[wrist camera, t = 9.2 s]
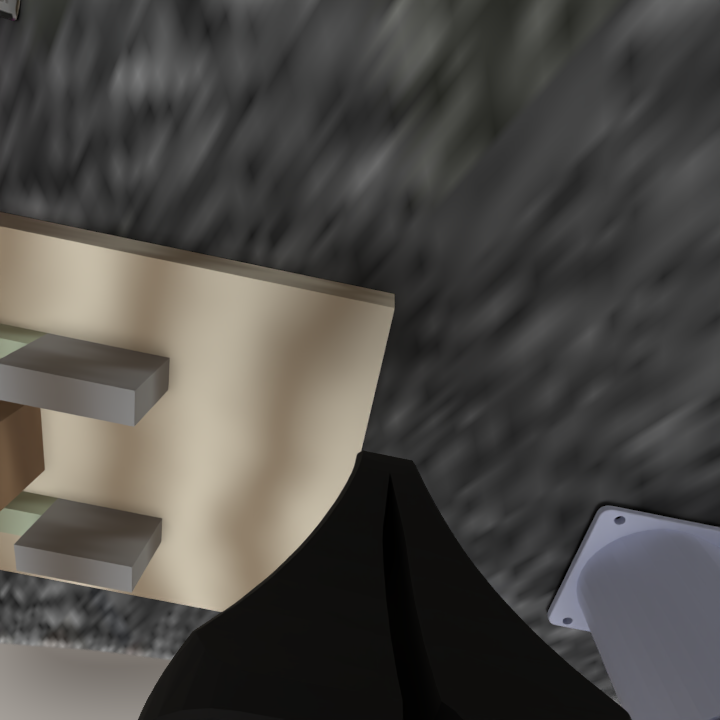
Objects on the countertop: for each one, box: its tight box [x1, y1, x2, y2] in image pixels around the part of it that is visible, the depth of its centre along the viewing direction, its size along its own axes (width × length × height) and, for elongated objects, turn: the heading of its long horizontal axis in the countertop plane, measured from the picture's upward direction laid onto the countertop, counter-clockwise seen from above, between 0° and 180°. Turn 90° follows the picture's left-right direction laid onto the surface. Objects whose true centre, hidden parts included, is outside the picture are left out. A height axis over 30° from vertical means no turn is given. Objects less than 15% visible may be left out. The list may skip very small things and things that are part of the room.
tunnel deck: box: [0, 212, 395, 612], centre depth 22 cm, size 27×18×5 cm, turn 79°
